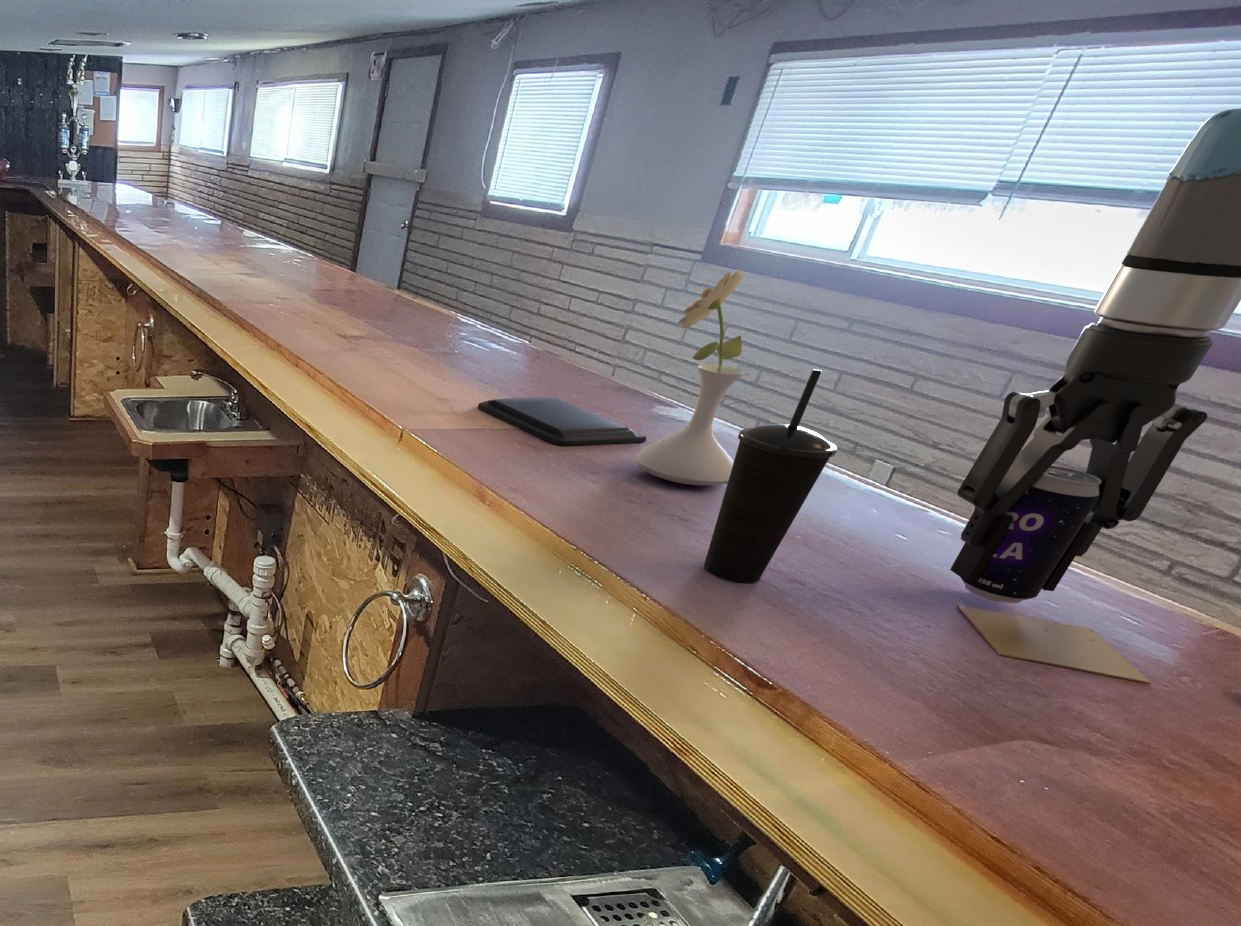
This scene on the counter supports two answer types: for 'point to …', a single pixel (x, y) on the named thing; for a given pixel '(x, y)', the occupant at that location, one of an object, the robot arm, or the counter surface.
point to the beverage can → (1037, 535)
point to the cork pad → (1051, 643)
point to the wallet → (560, 421)
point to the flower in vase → (700, 406)
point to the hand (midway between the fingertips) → (1000, 579)
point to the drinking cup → (765, 493)
